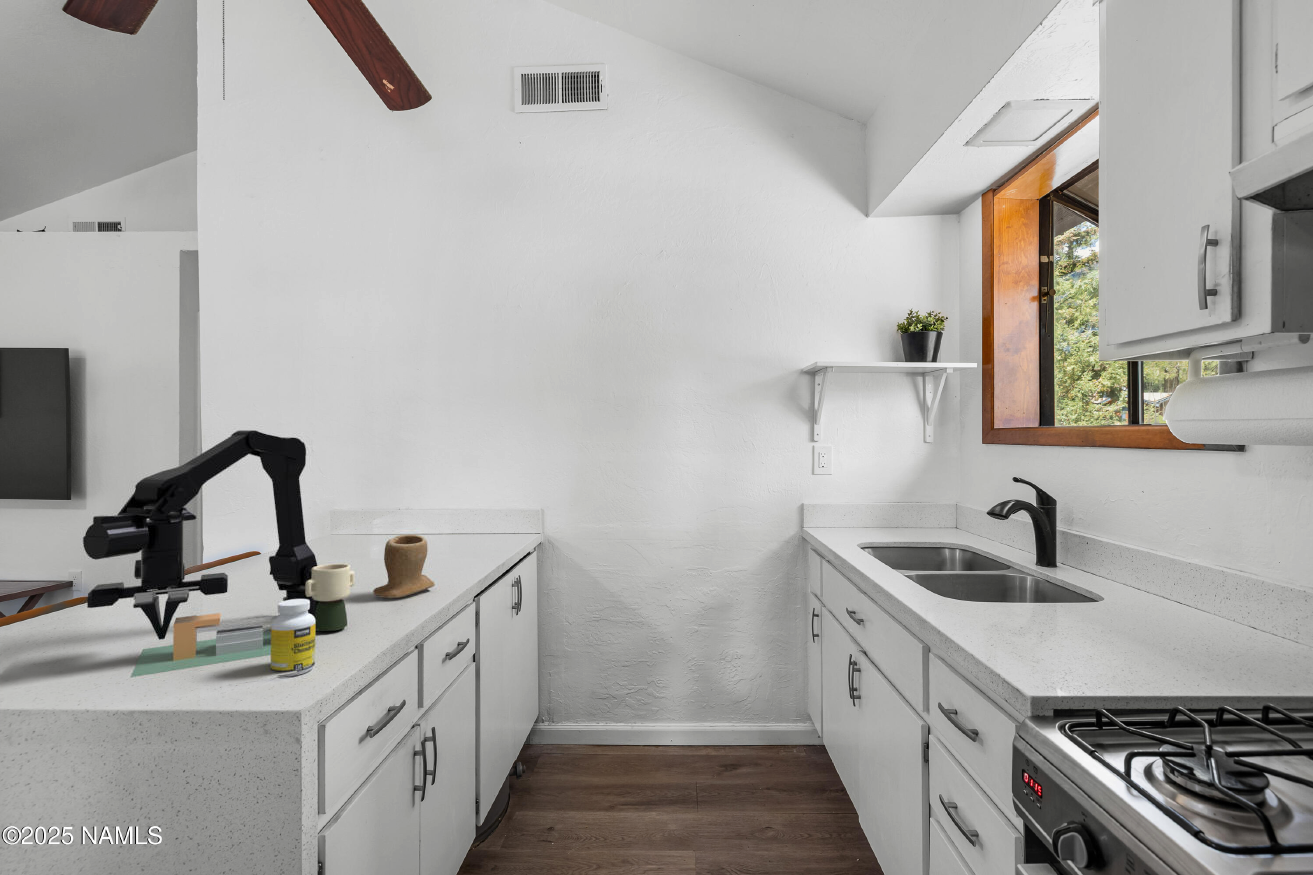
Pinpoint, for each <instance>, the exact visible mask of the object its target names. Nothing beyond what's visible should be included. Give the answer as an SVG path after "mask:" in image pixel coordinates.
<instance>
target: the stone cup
mask: <svg viewBox="0 0 1313 875" xmlns="http://www.w3.org/2000/svg"><path fill="white" fill-rule="evenodd" d="M427 556H428V541H427V539H426V538H425V537H423V536H421V535H417V534H411V533H409V534H400V535H396V536H395V537H393V538H390V539H388V540H387V541H386V543H385V547H384V553H383V561H384V566H385V570H386V573H387V579H388V580H387V583H386V584H383V585H380V586H378V587H376V588H374V589H373V591H372V593H373V595H375V596H377V597H382V598H389V599H390V598H391V599H398V598H404V597H407V596H409V595H413V594H414V595H415V594H417V593H419V592H422V591H424V590H427V589H430V588H433V587H435V581H433V580H432V579H430V578H429V576H427V575H425V574H423V569H424V565H425V562H426V558H427Z"/></svg>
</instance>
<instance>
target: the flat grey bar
mask: <svg viewBox="0 0 1313 875" xmlns="http://www.w3.org/2000/svg"><path fill="white" fill-rule="evenodd" d="M278 617H279V614H278V615H273V616H272V615H271V616H263V617H256V618H255V617H253V618H245V619H234V620H227V621H220V624H214V625H206V626H199V627H196V633H197V634H201V633H209V632H217V631H219V630H228V629H237V628H246V627H255V626H271V625H272V622H273V621H274V620H275V619H276V618H278Z"/></svg>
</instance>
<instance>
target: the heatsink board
mask: <svg viewBox="0 0 1313 875" xmlns="http://www.w3.org/2000/svg"><path fill="white" fill-rule="evenodd" d="M267 656H271V630H270V631H269V630H268V631H264V628H263V626H255V627H246V628H237V629H228V630H219V631H216V635H215V638H212V639H205V640H197V650H196V655H195V658H189V659H182V660H175V661H173V644H169V645H163V646H155V647H149V648H144V649H143V650H142V652H141V654H140V656H139V657H138V658H139V659H138V660H137V663H136V665H135V667H134V670H133V671H132V673H131V675H130V678H135V677H141V676H142V677H143V676H149V675H153V674H160V673H166V672H167V673H168V672H172V671H179V670H185V669H190V668H191V669H192V668H197V667H198V668H199V667H204V666H209V665H215V664H223V663H229V662H234V661H241V660H247V659H253V658H254V659H255V658H259V657H260V658H261V657H267Z"/></svg>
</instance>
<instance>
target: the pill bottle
mask: <svg viewBox="0 0 1313 875" xmlns="http://www.w3.org/2000/svg"><path fill="white" fill-rule="evenodd" d="M309 608H310V601H309V600H308V599H292V600H286V601H283V600H282V601H281V602H278V603H277V613H278V615H279V617H278V618H276V619H275V620H274V621H273V622H272V625H270V631H271V655H270V670H271V671H272V672H274V673H286V674H279V675H278V677H281V678H287V677H295V676H299V675H303V674H305V673H308V672H310V671H311V670H313V669H314V667H315V665H316V630H315V618H314V616H313V615H311V614H309V613H308V610H309Z"/></svg>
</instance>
